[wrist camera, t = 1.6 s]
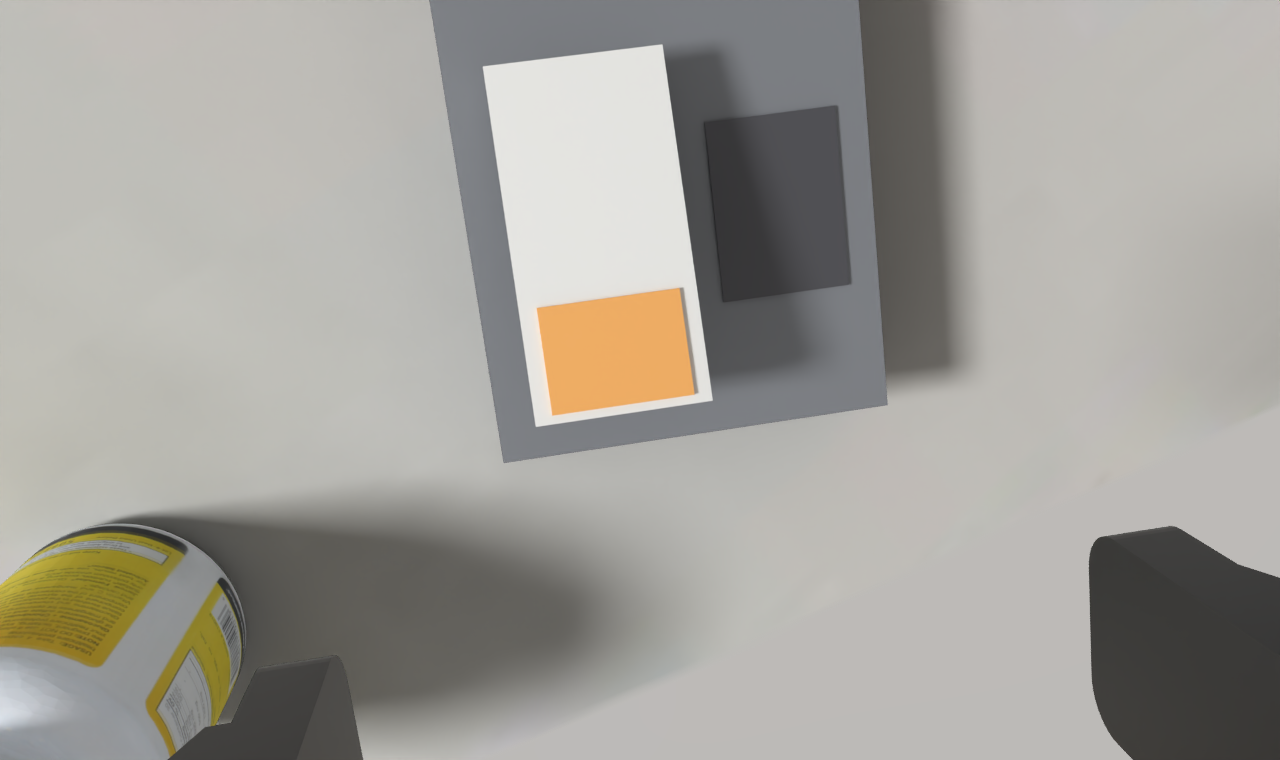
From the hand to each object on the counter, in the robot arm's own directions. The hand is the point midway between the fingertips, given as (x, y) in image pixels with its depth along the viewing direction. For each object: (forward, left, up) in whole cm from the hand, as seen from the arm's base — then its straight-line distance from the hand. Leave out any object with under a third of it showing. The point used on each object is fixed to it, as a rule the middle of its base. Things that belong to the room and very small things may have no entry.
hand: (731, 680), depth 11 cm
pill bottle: (+7, -14, -20) cm, 26 cm away
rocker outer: (-3, 0, -15) cm, 16 cm away
